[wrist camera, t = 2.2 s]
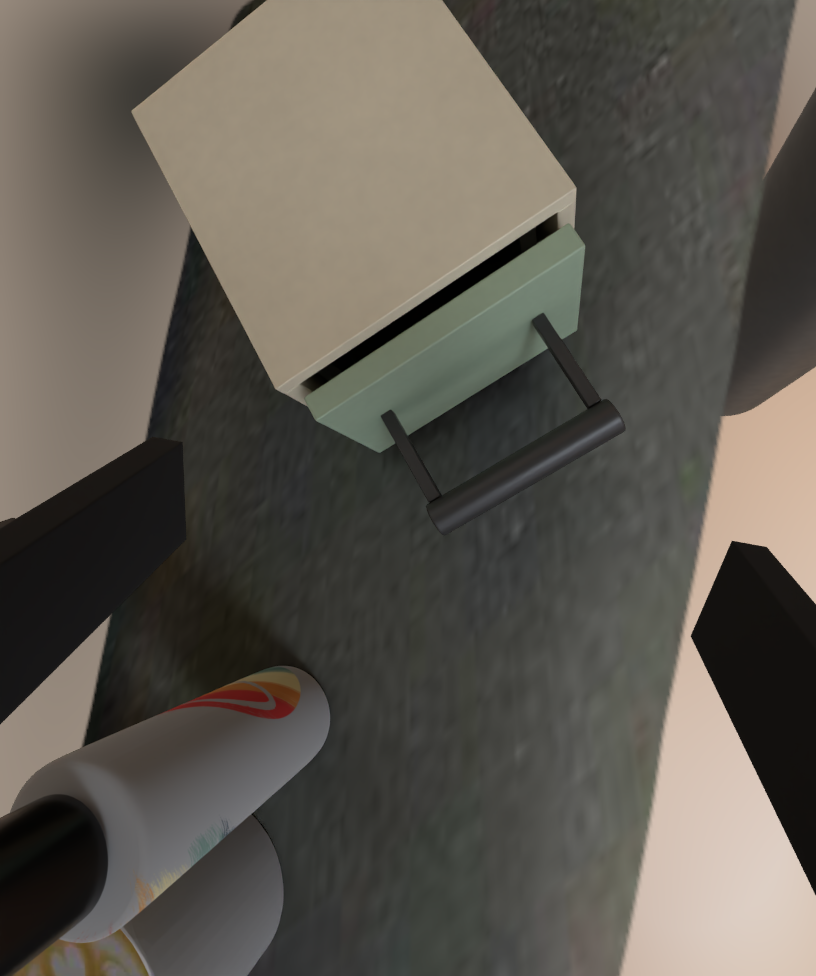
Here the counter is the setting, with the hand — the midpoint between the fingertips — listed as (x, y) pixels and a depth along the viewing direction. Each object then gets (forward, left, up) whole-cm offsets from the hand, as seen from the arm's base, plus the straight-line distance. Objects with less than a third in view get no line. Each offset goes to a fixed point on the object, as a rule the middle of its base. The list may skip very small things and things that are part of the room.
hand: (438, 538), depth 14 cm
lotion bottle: (+13, +9, -18) cm, 24 cm away
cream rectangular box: (+5, -17, -17) cm, 24 cm away
